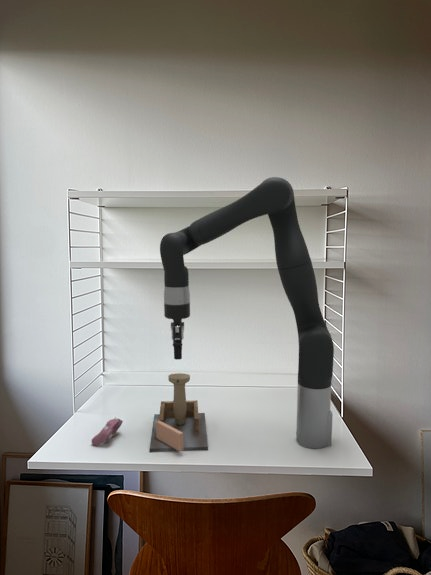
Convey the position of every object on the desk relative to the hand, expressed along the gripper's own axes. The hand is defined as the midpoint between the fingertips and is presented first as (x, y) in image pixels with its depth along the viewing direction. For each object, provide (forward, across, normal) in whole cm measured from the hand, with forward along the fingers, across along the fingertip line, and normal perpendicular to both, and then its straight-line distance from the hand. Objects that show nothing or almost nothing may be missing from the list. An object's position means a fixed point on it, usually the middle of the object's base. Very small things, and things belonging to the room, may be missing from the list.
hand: (178, 354), depth 142 cm
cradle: (+23, -4, 0) cm, 23 cm away
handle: (+22, 0, 0) cm, 22 cm away
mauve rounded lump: (+23, -6, +21) cm, 32 cm away
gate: (+21, -13, +3) cm, 25 cm away
